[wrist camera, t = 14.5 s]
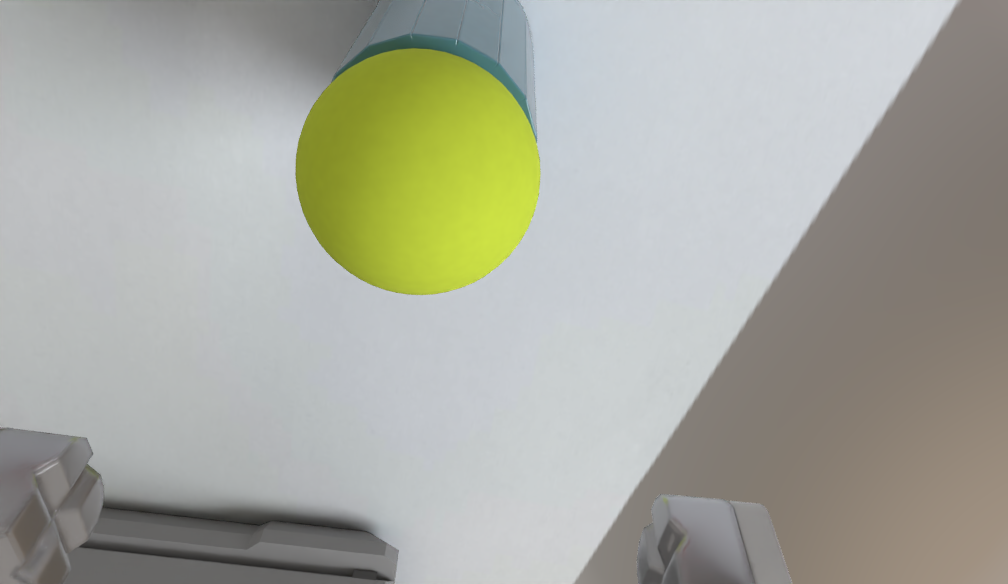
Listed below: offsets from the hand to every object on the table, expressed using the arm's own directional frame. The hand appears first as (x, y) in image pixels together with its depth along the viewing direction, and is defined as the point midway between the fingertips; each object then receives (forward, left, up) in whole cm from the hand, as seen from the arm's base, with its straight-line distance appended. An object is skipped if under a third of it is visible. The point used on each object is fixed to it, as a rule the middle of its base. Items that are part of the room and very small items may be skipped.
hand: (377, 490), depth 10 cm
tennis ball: (+1, 0, -11) cm, 11 cm away
